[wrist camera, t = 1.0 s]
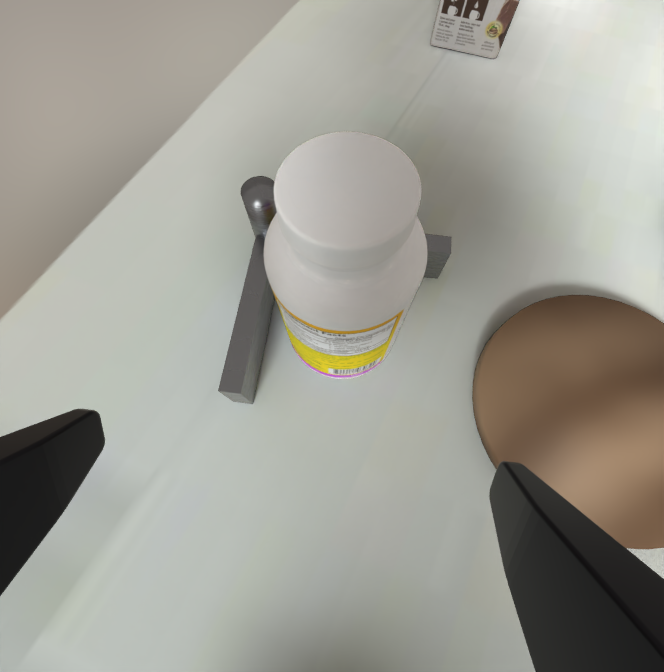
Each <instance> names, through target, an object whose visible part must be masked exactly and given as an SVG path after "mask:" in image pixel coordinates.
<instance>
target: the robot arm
mask: <svg viewBox="0 0 664 672" xmlns="http://www.w3.org/2000/svg"><path fill="white" fill-rule="evenodd" d="M104 444H105V437H104V432H103V428H102V423H101V418H100V415H99V413H98V412H97V411H95V410H88V409H75V410H72V411H70V412H67V413H64V414H61V415H59V416H56V417H53V418H51V419H48V420H45V421H43V422H40V423H37V424H34V425H32V426H29V427H26V428H24V429H21V430H18V431H15V432H13V433H10V434H7V435H5V436H2V437H0V596H1V595H2V593H3V592H4V591H5V589H6V588H7V587H8V585H9V584H10V583H11V581H12V580H13V579H14V577H15V576H16V575H17V573H18V572H19V571H20V569H21V568H22V567H23V565H24V564H25V563H26V562H27V560H28V559H29V558H30V556H31V555H32V554H33V552H34V551H35V550H36V548H37V547H38V546H39V544H40V543H41V542H42V540H43V539H44V538H45V536H46V535H47V534H48V532H49V531H50V530H51V528H52V527H53V526H54V524H55V523H56V522H57V520H58V519H59V518H60V516H61V515H62V513H63V512H64V510H65V509H66V507H67V506H68V504H69V503H70V501H71V500H72V498H73V497H74V495H75V493H76V492H77V490H78V489H79V487H80V485H81V484H82V482H83V481H84V479H85V477H86V476H87V474H88V473H89V471H90V469H91V468H92V466H93V465H94V463H95V461H96V460H97V458H98V457H99V455H100V453H101V452H102V450H103V447H104ZM490 503H491V508H492V513H493V518H494V523H495V527H496V532H497V537H498V542H499V547H500V552H501V557H502V562H503V566H504V570H505V574H506V578H507V581H508V585H509V588H510V591H511V595H512V598H513V601H514V604H515V607H516V611H517V614H518V617H519V620H520V623H521V627H522V630H523V633H524V636H525V639H526V643H527V646H528V649H529V652H530V655H531V659H532V662H533V665H534V668H535V671H536V672H664V579H663V578H662V577H660V576H659V575H658V574H657V573H656V572H654V571H653V570H652V569H651V568H649V567H648V566H647V565H646V564H644V563H643V562H642V561H641V560H640V559H638V558H637V557H636V556H635V555H633V554H632V553H631V552H630V551H629V550H627V549H626V548H625V547H624V546H622V545H621V544H620V543H619V542H618V541H616V540H615V539H614V538H613V537H611V536H610V535H609V534H608V533H606V532H605V531H604V530H603V529H602V528H600V527H599V526H598V525H597V524H595V523H594V522H593V521H592V520H591V519H589V518H588V517H587V516H586V515H584V514H583V513H582V512H581V511H580V510H578V509H577V508H576V507H575V506H573V505H572V504H571V503H570V502H568V501H567V500H566V499H565V498H564V497H562V496H561V495H560V494H559V493H557V492H556V491H555V490H554V489H553V488H551V487H550V486H549V485H548V484H546V483H545V482H544V481H543V480H541V479H540V478H539V477H538V476H537V475H535V474H534V473H533V472H532V471H530V470H529V469H528V468H527V467H526V466H524V465H523V464H521V463H517V462H509V461H502V462H500V464H499V465H498V467H497V470H496V473H495V476H494V479H493V482H492V485H491V488H490Z"/></svg>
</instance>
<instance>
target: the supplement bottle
mask: <svg viewBox="0 0 664 672" xmlns="http://www.w3.org/2000/svg"><path fill="white" fill-rule="evenodd" d="M421 194H422V189H421V181H420V177H419V174H418V171H417V169H416V167H415V165H414V164H413V162H412V161H411V159H410V158H409V157H408V156H407V155H406V154H405V153H404V152H403V151H402V150H401V149H400V148H399V147H397V146H396V145H394V144H392V143H391V142H389V141H387V140H385V139H382V138H380V137H377V136H374V135H371V134H366V133H360V132H349V131H344V132H333V133H328V134H323V135H320V136H317V137H315V138H312V139H310V140H308V141H306V142H304V143H303V144H301V145H300V146H298V147H296V148H295V149H294V150H293V151H292V152H291V153H290V154H289V155H288V156H287V157H286V158H285V159H284V161H283V162H282V164H281V166H280V167H279V169H278V171H277V174H276V178H275V182H274V201H275V206H276V211H277V213H276V214H275V216H274V218H273V220H272V221H271V224H270V226H269V228H268V230H267V234H266V237H265V243H264V265H265V270H266V274H267V277H268V280H269V283H270V286H271V288H272V291H273V294H274V296H275V299H276V302H277V304H278V307H279V310H280V313H281V316H282V318H283V321H284V324H285V327H286V329H287V332H288V335H289V338H290V340H291V343H292V346H293V348H294V350H295V352H296V354H297V355H298V357H299V358H300V359H301V361H302V362H303V363H304V364H305V365H306V366H308V367H309V368H310V369H312V370H313V371H315V372H317V373H319V374H321V375H323V376H326V377H330V378H336V379H350V378H355V377H359V376H362V375H364V374H366V373H368V372H370V371H372V370H373V369H375V368H376V367H377V366H378V365H380V364H381V363H382V362H383V360H384V359H385V358H386V357H387V355H388V353H389V352H390V350H391V348H392V346H393V343H394V341H395V339H396V337H397V334H398V332H399V330H400V328H401V325H402V323H403V321H404V319H405V316H406V314H407V312H408V310H409V307H410V305H411V303H412V301H413V299H414V297H415V294H416V292H417V290H418V288H419V286H420V284H421V282H422V279H423V276H424V273H425V270H426V265H427V241H426V237H425V233H424V230H423V227H422V225H421V222H420V221H419V219H418V217H417V213H418V210H419V206H420V201H421Z"/></svg>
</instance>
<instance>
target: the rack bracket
mask: <svg viewBox="0 0 664 672" xmlns="http://www.w3.org/2000/svg"><path fill="white" fill-rule="evenodd" d="M241 196H242V199H243V202H244V205H245V208H246V211H247V214H248V217H249V220H250V223H251V226H252V229H253V232H254V235H255V238H256V239H255V243H254V247H253V251H252V255H251V259H250V263H249V267H248V271H247V275H246V279H245V283H244V288H243V292H242V296H241V300H240V304H239V308H238V312H237V316H236V320H235V324H234V328H233V332H232V336H231V341H230V345H229V349H228V353H227V357H226V361H225V365H224V369H223V373H222V377H221V381H220V385H219V390H218V391H219V392H220V393H222V394H223V395H225V396H226V397H228V398H229V399H231V400H232V401H235V402H242V403H250V404H253V400H254V395H255V391H256V386H257V381H258V376H259V371H260V367H261V362H262V357H263V352H264V348H265V343H266V338H267V333H268V328H269V324H270V319H271V314H272V309H273V304H274V300H275V296H274V294H273V291H272V288H271V286H270V283H269V280H268V277H267V274H266V270H265V265H264V243H265V237H266V234H267V230H268V228H269V226H270V224H271V221H272V220H273V218H274V216H275V214H276V213H277V211H276V206H275V201H274V181H273V180H272V179H270V178H268V177H264V176H257V177H253V178H250V179H249V180H247V181H246V182H245V183H244V184H243V186H242V188H241ZM425 237H426V241H427V265H426V270H425V273H424V276H423V277H430V278H438V277H439V275H440V273H441V271H442V269H443V267H444V265H445V263H446V262H447V260H448V258H449V256H450V254H451V237H448V236H439V235H430V234H425Z"/></svg>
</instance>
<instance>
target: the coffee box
mask: <svg viewBox="0 0 664 672" xmlns="http://www.w3.org/2000/svg"><path fill="white" fill-rule="evenodd" d="M519 1H520V0H440V3H439V7H438V11H437V16H436V20H435V24H434V28H433V33H432V37H431V41H430V44H431V45H433V46H437V47H442V48H447V49H451V50H456V51H461V52H465V53H470V54H474V55H479V56H483V57H487V58H491V59H494V58H496V57H497V56H498V53H499V51H500V48H501V46H502V43H503V41H504V38H505V36H506V33H507V31H508V28H509V26H510V23H511V21H512V18H513V16H514V13H515V11H516V8H517V6H518V3H519Z"/></svg>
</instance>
